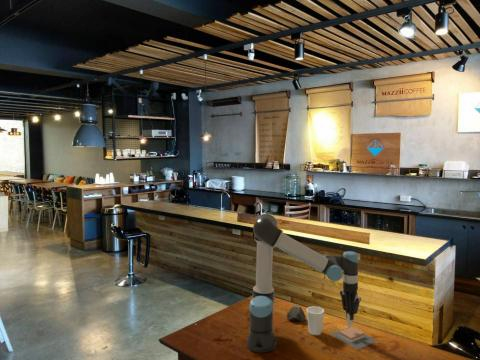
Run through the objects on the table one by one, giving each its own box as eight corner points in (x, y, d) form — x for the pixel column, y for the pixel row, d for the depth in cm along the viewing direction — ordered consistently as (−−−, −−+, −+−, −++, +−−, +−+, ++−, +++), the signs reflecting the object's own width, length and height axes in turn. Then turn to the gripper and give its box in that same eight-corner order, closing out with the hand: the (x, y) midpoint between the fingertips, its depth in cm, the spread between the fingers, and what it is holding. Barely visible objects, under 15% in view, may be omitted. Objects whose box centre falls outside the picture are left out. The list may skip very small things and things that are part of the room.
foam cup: (324, 338, 195) (324, 314, 194) (306, 337, 197) (306, 313, 196) (323, 329, 205) (323, 307, 204) (306, 328, 207) (306, 305, 205)
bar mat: (357, 350, 183) (357, 349, 183) (330, 335, 199) (330, 334, 199) (377, 342, 191) (377, 340, 191) (350, 327, 207) (350, 326, 207)
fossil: (282, 315, 221) (288, 299, 223) (293, 320, 225) (300, 304, 226) (292, 323, 211) (299, 306, 213) (304, 327, 215) (310, 310, 216)
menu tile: (339, 335, 197) (351, 342, 190) (339, 331, 197) (351, 337, 190) (352, 330, 202) (364, 337, 195) (352, 326, 202) (364, 332, 195)
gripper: (365, 283, 191) (364, 328, 193) (346, 276, 202) (345, 318, 204) (355, 286, 187) (354, 332, 189) (336, 279, 198) (335, 321, 200)
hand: (349, 324), depth 197 cm, fingers closed
